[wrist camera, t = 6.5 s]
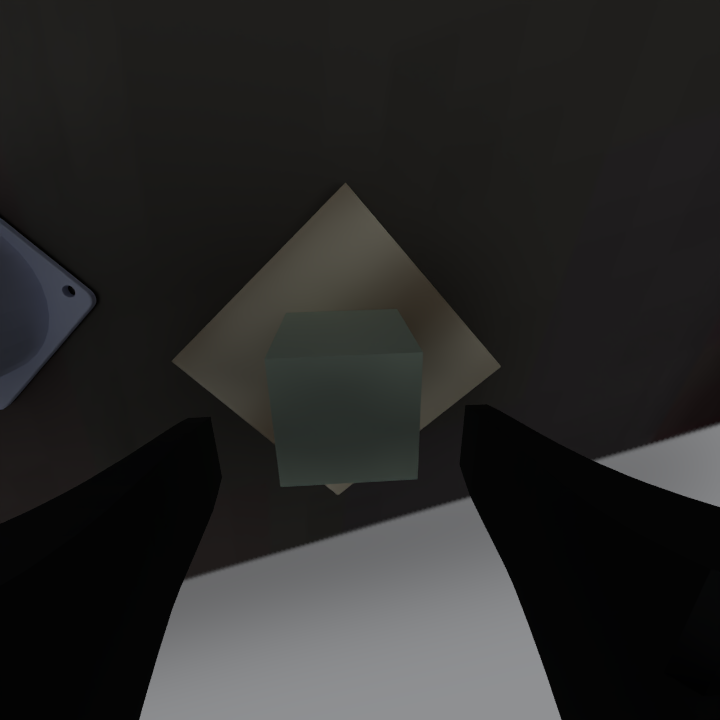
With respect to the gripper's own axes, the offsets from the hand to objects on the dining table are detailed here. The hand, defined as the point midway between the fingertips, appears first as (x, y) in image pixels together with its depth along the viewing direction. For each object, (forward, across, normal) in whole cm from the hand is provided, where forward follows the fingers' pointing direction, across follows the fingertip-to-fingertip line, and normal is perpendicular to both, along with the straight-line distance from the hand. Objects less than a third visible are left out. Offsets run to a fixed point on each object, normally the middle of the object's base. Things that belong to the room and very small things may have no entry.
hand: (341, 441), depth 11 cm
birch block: (+9, 0, 0) cm, 9 cm away
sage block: (+6, 0, 0) cm, 6 cm away
